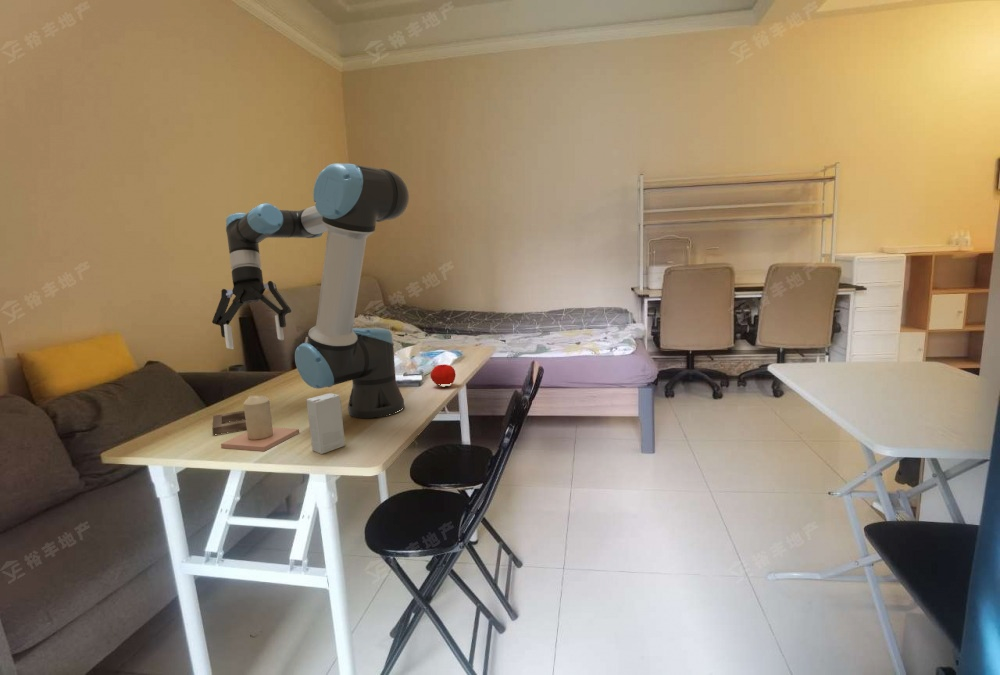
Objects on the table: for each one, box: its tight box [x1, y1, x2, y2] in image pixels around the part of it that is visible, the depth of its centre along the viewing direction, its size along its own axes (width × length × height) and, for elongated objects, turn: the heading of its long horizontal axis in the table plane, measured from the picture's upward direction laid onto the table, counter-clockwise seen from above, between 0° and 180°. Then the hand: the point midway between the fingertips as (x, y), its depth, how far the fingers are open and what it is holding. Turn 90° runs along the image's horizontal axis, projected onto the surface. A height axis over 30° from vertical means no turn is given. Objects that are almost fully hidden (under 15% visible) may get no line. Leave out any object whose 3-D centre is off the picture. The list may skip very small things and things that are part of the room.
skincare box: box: [306, 392, 346, 455], centre depth 112 cm, size 6×4×12 cm
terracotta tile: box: [220, 426, 300, 452], centre depth 120 cm, size 12×12×1 cm
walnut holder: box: [212, 410, 247, 436], centre depth 133 cm, size 12×12×2 cm
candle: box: [243, 394, 273, 440], centre depth 120 cm, size 6×6×10 cm
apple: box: [430, 363, 456, 385], centre depth 162 cm, size 8×8×7 cm
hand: (255, 344), depth 136 cm, fingers open, 13 cm apart
